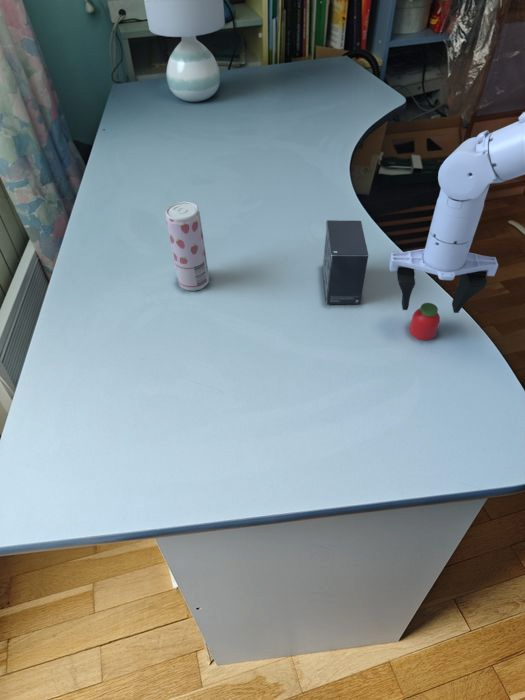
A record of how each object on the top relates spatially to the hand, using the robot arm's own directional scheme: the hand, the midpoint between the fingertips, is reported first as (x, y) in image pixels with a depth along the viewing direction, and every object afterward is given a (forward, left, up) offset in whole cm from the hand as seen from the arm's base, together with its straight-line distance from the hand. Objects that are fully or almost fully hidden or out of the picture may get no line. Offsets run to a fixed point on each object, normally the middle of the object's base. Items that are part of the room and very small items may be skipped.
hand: (429, 307), depth 75 cm
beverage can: (+39, -14, -6) cm, 42 cm away
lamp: (+48, -106, -6) cm, 116 cm away
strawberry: (0, 0, -5) cm, 5 cm away
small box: (+12, -12, -6) cm, 18 cm away
